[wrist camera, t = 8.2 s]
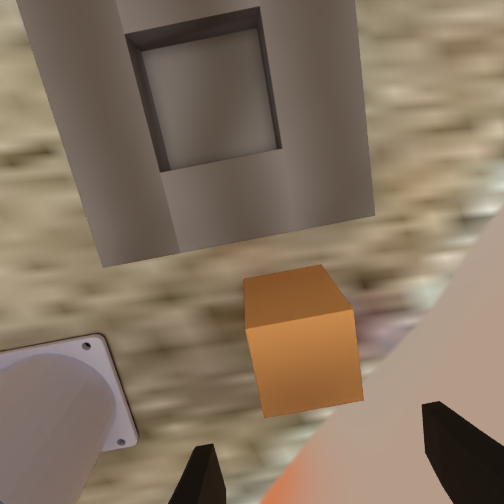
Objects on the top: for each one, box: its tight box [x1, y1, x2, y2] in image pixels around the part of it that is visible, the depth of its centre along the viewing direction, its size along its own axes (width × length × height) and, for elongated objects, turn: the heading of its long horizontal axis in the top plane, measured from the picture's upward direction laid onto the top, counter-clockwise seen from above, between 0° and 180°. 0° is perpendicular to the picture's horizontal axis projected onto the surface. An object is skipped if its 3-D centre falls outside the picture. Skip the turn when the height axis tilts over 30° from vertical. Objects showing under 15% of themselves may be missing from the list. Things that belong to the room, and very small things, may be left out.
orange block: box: [244, 265, 364, 418], centre depth 18 cm, size 4×4×6 cm
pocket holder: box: [16, 0, 375, 268], centre depth 16 cm, size 13×13×3 cm
